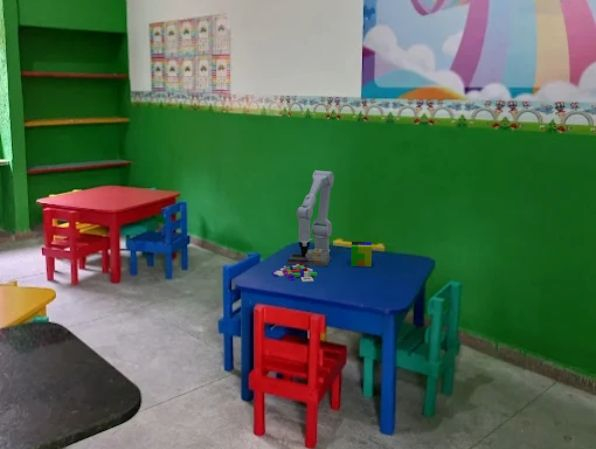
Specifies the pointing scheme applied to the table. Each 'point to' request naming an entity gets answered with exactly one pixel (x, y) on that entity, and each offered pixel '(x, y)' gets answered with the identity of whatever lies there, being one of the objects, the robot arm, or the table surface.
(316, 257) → the housing
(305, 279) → the building block set
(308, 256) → the ram
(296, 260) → the press bed
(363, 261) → the puzzle toy
